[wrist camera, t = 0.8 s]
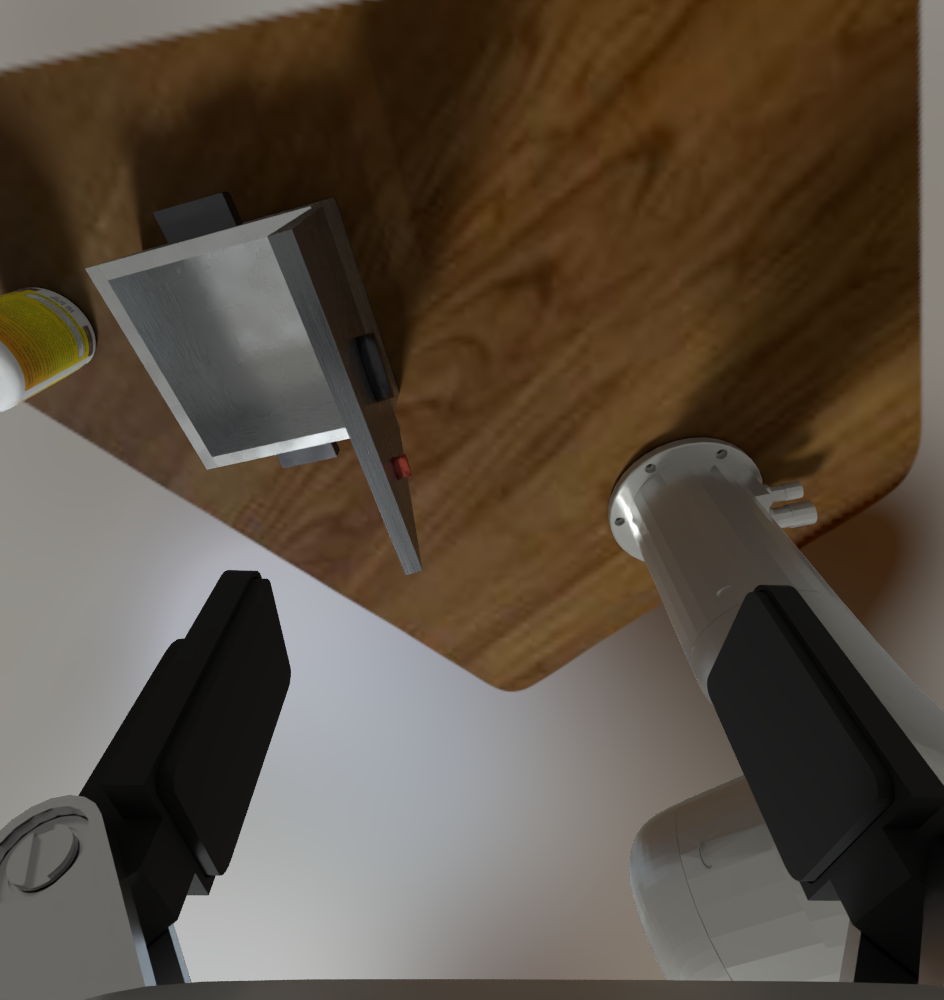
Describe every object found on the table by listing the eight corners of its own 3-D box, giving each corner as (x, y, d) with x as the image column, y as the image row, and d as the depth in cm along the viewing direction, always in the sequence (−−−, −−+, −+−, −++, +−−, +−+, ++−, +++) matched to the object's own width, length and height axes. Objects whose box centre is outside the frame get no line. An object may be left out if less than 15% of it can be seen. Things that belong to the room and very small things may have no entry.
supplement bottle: (34, 266, 33) (-112, 306, 25) (115, 332, 36) (8, 389, 27) (-4, 323, 35) (-151, 378, 27) (75, 382, 38) (-36, 449, 29)
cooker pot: (324, 166, 31) (297, 170, 26) (405, 412, 39) (397, 450, 35) (127, 222, 32) (65, 236, 27) (248, 447, 41) (218, 488, 36)
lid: (308, 209, 26) (338, 201, 26) (388, 430, 33) (411, 423, 33) (265, 236, 14) (319, 221, 14) (404, 575, 21) (441, 564, 21)
